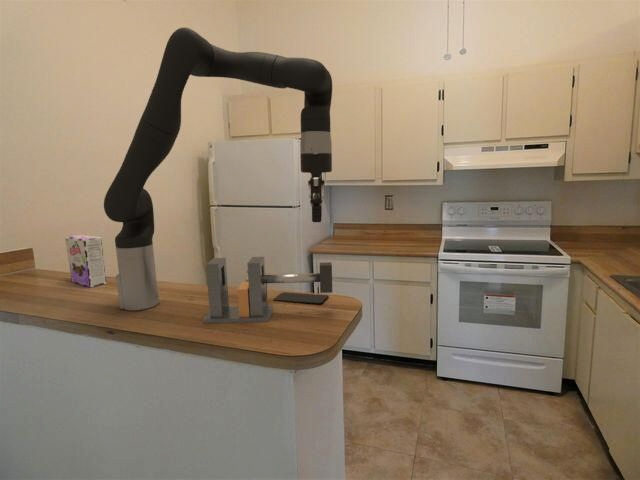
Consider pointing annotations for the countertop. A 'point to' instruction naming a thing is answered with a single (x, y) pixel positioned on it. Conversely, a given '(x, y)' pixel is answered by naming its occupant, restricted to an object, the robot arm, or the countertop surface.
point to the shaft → (305, 278)
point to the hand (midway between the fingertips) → (317, 219)
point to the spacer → (244, 300)
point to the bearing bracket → (220, 299)
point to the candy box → (86, 260)
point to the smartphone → (301, 298)
